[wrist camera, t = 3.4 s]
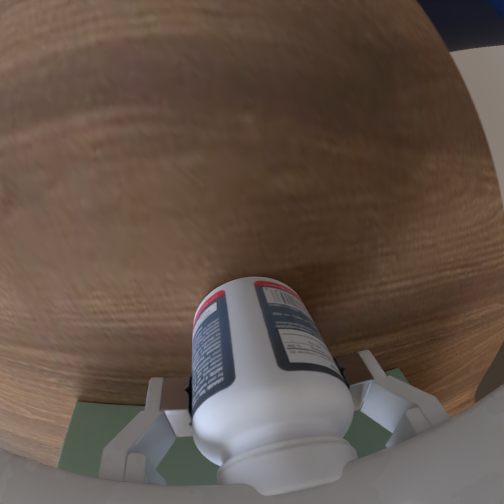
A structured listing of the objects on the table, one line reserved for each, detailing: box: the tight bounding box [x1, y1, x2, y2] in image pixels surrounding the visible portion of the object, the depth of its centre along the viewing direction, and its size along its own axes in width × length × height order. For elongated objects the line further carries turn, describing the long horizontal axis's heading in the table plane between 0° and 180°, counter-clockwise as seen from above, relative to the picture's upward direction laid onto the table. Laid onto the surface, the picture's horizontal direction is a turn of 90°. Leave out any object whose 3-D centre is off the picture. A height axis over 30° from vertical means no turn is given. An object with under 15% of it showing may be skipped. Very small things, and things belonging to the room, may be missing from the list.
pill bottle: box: [191, 277, 358, 496], centre depth 9 cm, size 5×5×9 cm
